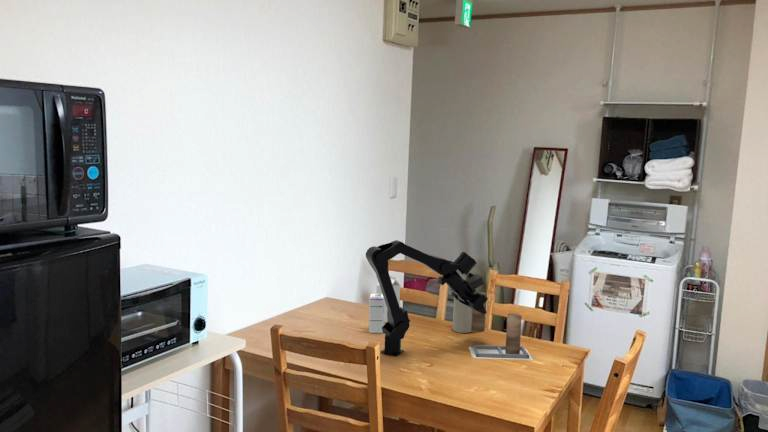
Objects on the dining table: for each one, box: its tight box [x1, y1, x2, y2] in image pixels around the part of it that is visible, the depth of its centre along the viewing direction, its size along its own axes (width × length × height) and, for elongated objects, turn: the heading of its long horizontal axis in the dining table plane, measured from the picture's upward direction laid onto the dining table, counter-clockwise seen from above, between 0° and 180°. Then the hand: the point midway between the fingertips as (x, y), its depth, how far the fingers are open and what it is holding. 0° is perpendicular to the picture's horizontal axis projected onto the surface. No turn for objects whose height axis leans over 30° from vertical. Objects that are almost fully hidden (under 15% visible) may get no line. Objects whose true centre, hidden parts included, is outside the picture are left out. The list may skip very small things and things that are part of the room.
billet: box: [471, 291, 488, 333], centre depth 237 cm, size 5×5×14 cm
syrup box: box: [368, 293, 385, 334], centre depth 251 cm, size 6×6×14 cm
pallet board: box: [468, 344, 534, 361], centre depth 227 cm, size 21×12×2 cm, turn 90°
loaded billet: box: [505, 313, 523, 354], centre depth 226 cm, size 5×5×14 cm
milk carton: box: [375, 275, 401, 323], centre depth 267 cm, size 7×7×19 cm
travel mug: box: [452, 298, 473, 334], centre depth 255 cm, size 8×8×18 cm
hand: (482, 311), depth 237 cm, fingers closed on billet, 5 cm apart
